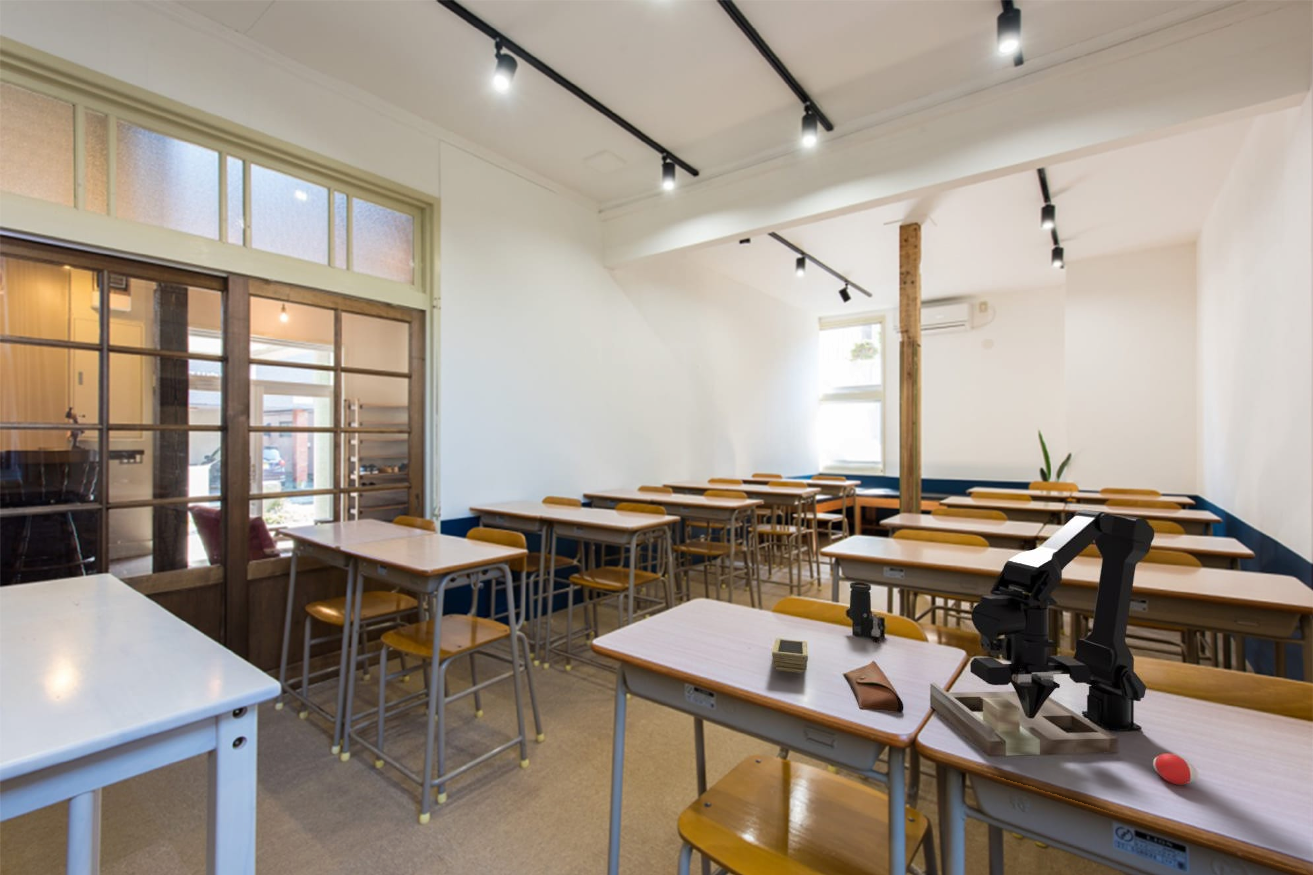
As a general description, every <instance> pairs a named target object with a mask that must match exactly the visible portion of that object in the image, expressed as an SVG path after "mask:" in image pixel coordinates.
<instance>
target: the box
mask: <svg viewBox="0 0 1313 875" xmlns="http://www.w3.org/2000/svg"><path fill="white" fill-rule="evenodd" d="M771 656H772V667H775V670H776V671H780V672H789V673H797V674H798V673H800V674H804V671H807V669H808V668H807V667H808V661H809V655H808V641H806V640H805V641H804V640H795V639H786V638H785V639H784V638H779V637H778V638H775V641H774V644H773V649H772V651H771Z"/></svg>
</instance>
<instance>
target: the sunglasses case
mask: <svg viewBox="0 0 1313 875" xmlns="http://www.w3.org/2000/svg"><path fill="white" fill-rule="evenodd" d="M842 675H843V677H844V678H845V679H846V680H847V682H848V683H849V686H850V687H851V690H852V691H853V694H854V695H855V697H856V700H857V702H858V707H859V710H860V709H861V710H865V711H868V710H869V711H880V712H881V711H882V712H890V713H891V712H893V713H900V714H901V713H902V712H904V708H905V707H904V703H903V701H902V698H901V697H900V695H899V694H898V692H897V690H896V689H895V687H894V686H893V684H892V683H891V681H890V680H889V679H888V677H887V676H886V675H885V672H883V670H882V669H881V668H880V666H879V665H878V663H877V662H876V661H875V660H872V661H871V662H870V663H868V664H866V665H864V666H861V667H857V668H856V669H855V668H854V669H853V670H850V671H848V672H847V671H846V672H845V673H842Z"/></svg>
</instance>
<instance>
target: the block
mask: <svg viewBox="0 0 1313 875" xmlns="http://www.w3.org/2000/svg"><path fill="white" fill-rule="evenodd" d="M983 721H985V722H986V723H987V724H989V725H990V726H991V727H992V728H994V729H995V730H996V731H998V732H1007V731H1020V708H1019V707H1017V706H1016V705H1014V704H1013V703H1011V702H1010V701H1008V700H1007V699H1005V698H983Z"/></svg>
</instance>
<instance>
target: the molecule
mask: <svg viewBox="0 0 1313 875" xmlns="http://www.w3.org/2000/svg"><path fill="white" fill-rule="evenodd" d="M1152 766H1153V768H1154V770H1155V771H1156V772H1157V773H1158V774H1159V775H1160V776H1161V777H1162V779H1164V780H1165V781H1167V782H1168V783H1170V784H1173V785H1179V786H1181V785H1182V786H1183V785H1186V784H1188V783H1193V782H1195V781H1196V780H1197V779H1198V778H1199V773H1198V772H1199V771H1198V770H1197V768H1196V767H1195V766H1194V764H1192V762H1190V761H1187V760H1185V759H1184V758H1183V757H1180V756H1179V755H1176V754H1173V753H1162V754H1159V755H1158V756H1156V757H1154V759H1153V761H1152Z"/></svg>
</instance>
